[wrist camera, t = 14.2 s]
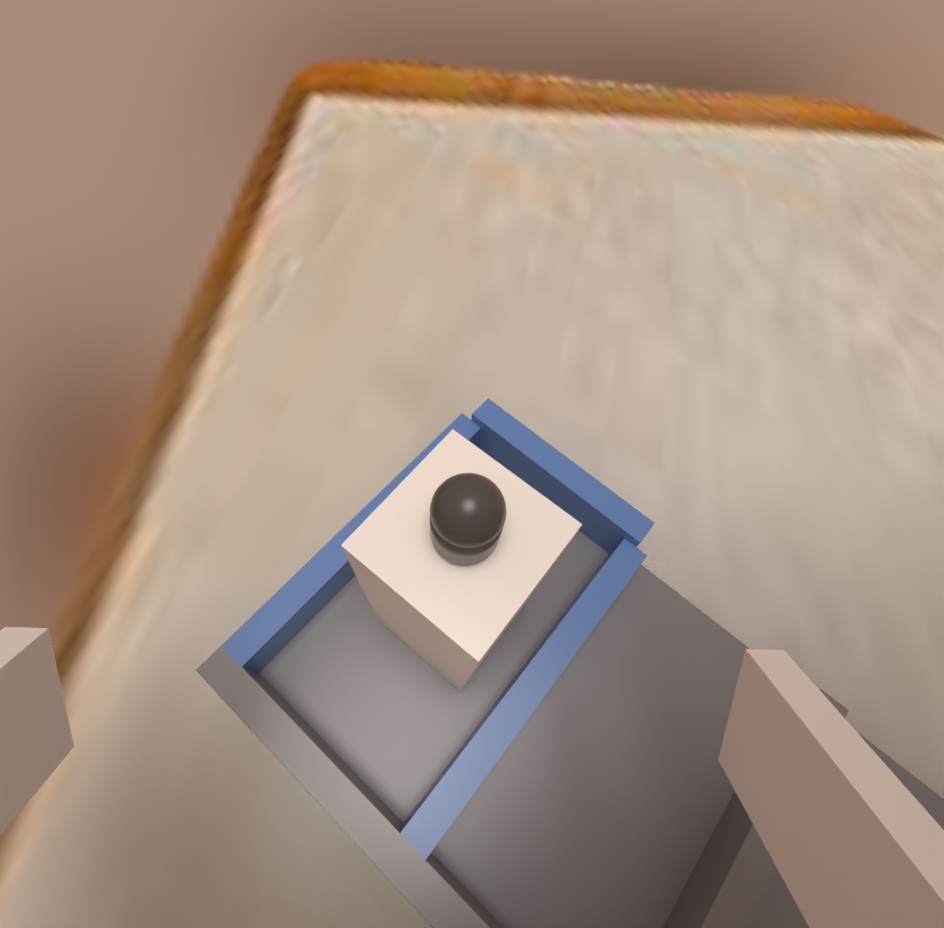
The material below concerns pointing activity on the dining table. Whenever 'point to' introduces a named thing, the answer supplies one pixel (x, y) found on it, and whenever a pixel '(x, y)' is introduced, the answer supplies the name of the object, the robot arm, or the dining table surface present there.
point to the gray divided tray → (524, 732)
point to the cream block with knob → (456, 555)
